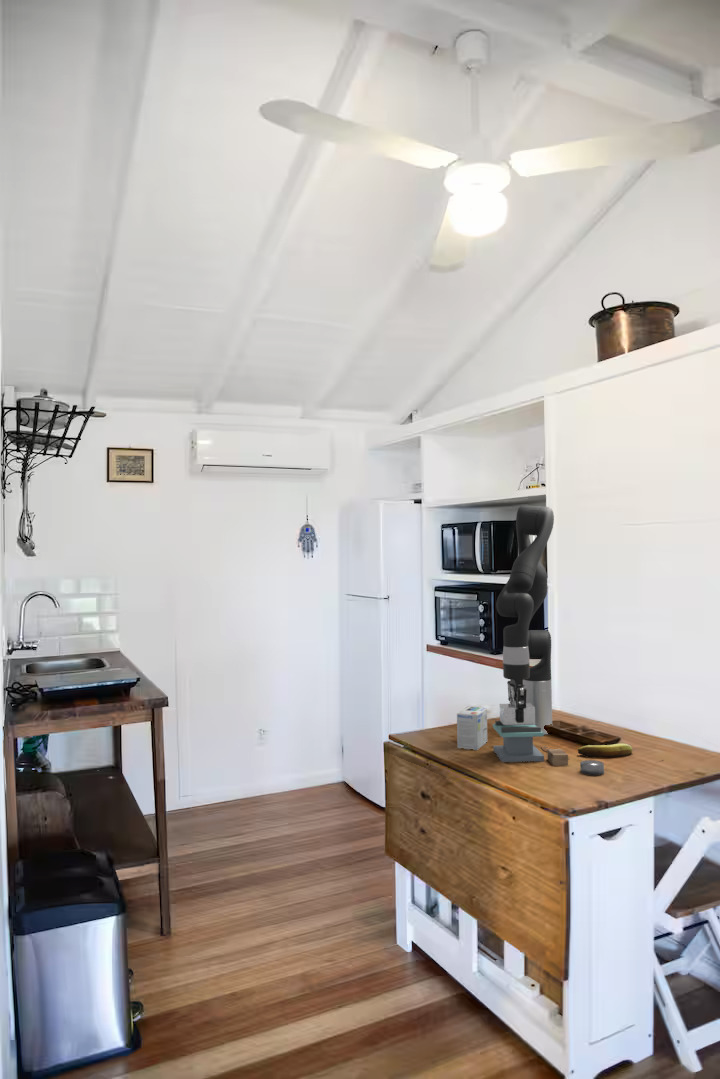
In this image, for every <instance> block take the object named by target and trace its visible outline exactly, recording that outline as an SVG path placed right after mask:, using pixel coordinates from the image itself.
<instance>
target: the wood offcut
mask: <svg viewBox="0 0 720 1079" xmlns="http://www.w3.org/2000/svg"><path fill="white" fill-rule="evenodd" d="M546 753H547V754H546V755H547V761H548V760H549V761H548V762H550V763H551V765H552V766H555V767H556V766H557V767H558V766H569V760H568V759H569V754H568V753H566V751H564V749H562V748H558V749H547V752H546Z"/></svg>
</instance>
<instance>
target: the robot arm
mask: <svg viewBox="0 0 720 1079" xmlns="http://www.w3.org/2000/svg"><path fill="white" fill-rule="evenodd" d="M515 520H516V521H515V526H516V527H515V528H516V537H517V538H516V539H517V554H518V556H517V557H516V559H515V560H514V562H513V564H512V568H511V572H510V575H509V578H508V580H507V581H506V583H505V584H504V587H503V588H502V590H501V591H500V593H498V594H499V595H498V596H497V600H496V604H495V606H496V611H497V613H498V614H499V615H500V616H501V617H506V618H518V619H517V622H516V623H515V624H511V625H506V626H505V627H504V628H503V631H502V632H503V650H502V671H503V672H502V675H503V678H504V679H506V680H507V682H506V683H507V693H508V694H507V695H508V698H507V700H508V701H509V704H512V701H514V702H515V709H516V722H517V723H523V722H524V709H525V708H526V703H530V704H532V705H533V706H534V707H535V725H536V726H537V727H541V731H542V732H543V733H544V735H549V734H548V733H547V731H546V730H545V729H544V726H545V725H550V724H552V725H553V700H552V699H553V698H552V696H553V695H552V661H551V660H552V635H551V633H550V631H549V630H546V629H545V630H544V629H539V630H538V629H535V630H534V629H533V630H532V629H530V630H529V628H530V623H531V621H532V619H533V617H534V615H535V614H536V612H537V611H538V610H539V608H540V607H541V605H542V604H543V602H544V601H545V599H546V597H547V594H548V573H547V571H546V568H545V567H544V565H543V563H542V561H541V557H542V555H543V553H544V551H545V550H546V546H547V545H548V542H549V539H550V537H551V535H552V532H553V529H554V523H555V516H554V511H553V509H552V508H551V507H549V506H543V505H520V506H519V507H518V508H517V512H516V516H515ZM530 536H535V538H534V539H533V540H532V542H531V538H530ZM530 659H540V661H539V662H538V663H536V664H535V665H532V666H530ZM519 701H521V702H522V704H519Z"/></svg>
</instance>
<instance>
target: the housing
mask: <svg viewBox="0 0 720 1079" xmlns="http://www.w3.org/2000/svg"><path fill="white" fill-rule="evenodd" d="M519 704H522V702H521V701H519ZM499 720H500V722H501V723H502V724H503V725H535V707H534V706H533V705H532V704H530V703H526V708H525V709H524V722H523V723H517V722H516V709H515V702H514V701H512V704H510V703H499Z"/></svg>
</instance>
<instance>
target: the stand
mask: <svg viewBox="0 0 720 1079" xmlns="http://www.w3.org/2000/svg"><path fill="white" fill-rule="evenodd" d="M492 728H493V729H494V730H495V732H496V733H497V734H498V736H500V738H502V739H503V740H502V741H503V742H502V744H503V745H492V748H493V750H494V751H493V752H494V753H496V754H497V755H496V754H495V755H496V757H497V758H498V757H499V758H498V759H499V761H500V762H501V761H502V762H501V763H518V762H520V763H523V762H525V761H526V762H525V763H527V761H528V763H529V762H530V761H531V762H530V763H533V762H532V761H534V762H545V755H544V754H543V753H542V752H541V751H540V750H539V749H538V748H537V747H536V746H535V745H534V737H545V736H544V735H545V734H544V733H543V732H542V731H541V727H537V726H536V725H503V724H502V723H501V722H500V719H499V720H495V721H494V723H492ZM522 761H523V762H522Z"/></svg>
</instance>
